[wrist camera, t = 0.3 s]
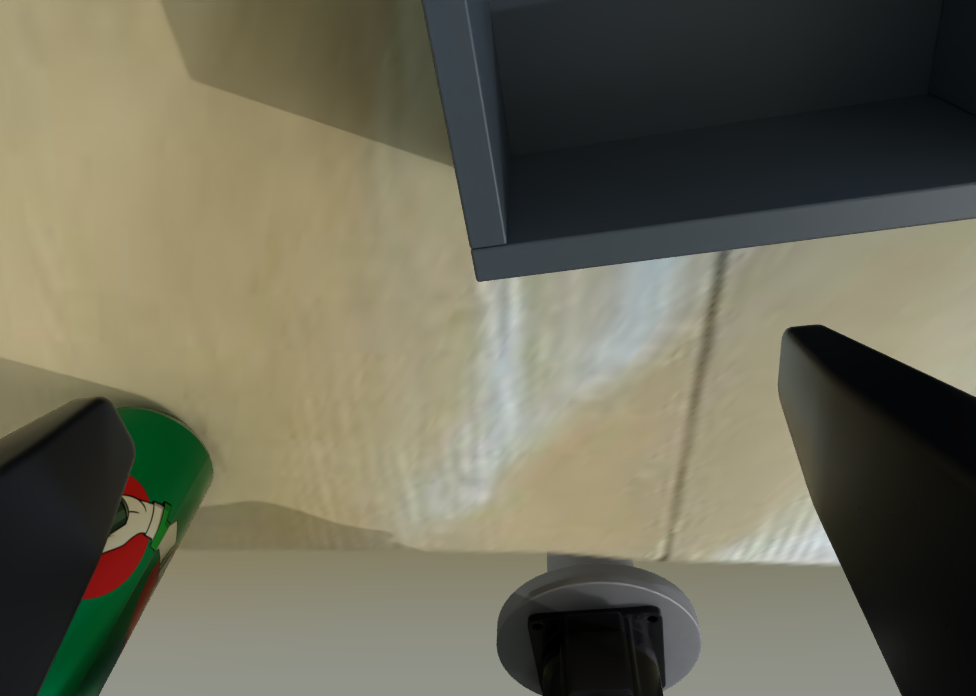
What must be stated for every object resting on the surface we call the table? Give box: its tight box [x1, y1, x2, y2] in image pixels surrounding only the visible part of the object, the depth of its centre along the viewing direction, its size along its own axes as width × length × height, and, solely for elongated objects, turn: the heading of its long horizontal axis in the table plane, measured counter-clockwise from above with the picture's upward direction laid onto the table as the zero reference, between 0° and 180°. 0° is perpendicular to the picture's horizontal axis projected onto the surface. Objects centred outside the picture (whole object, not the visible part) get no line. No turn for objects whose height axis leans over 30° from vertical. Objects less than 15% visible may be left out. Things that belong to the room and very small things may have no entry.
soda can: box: [38, 407, 213, 696], centre depth 22 cm, size 5×5×12 cm
